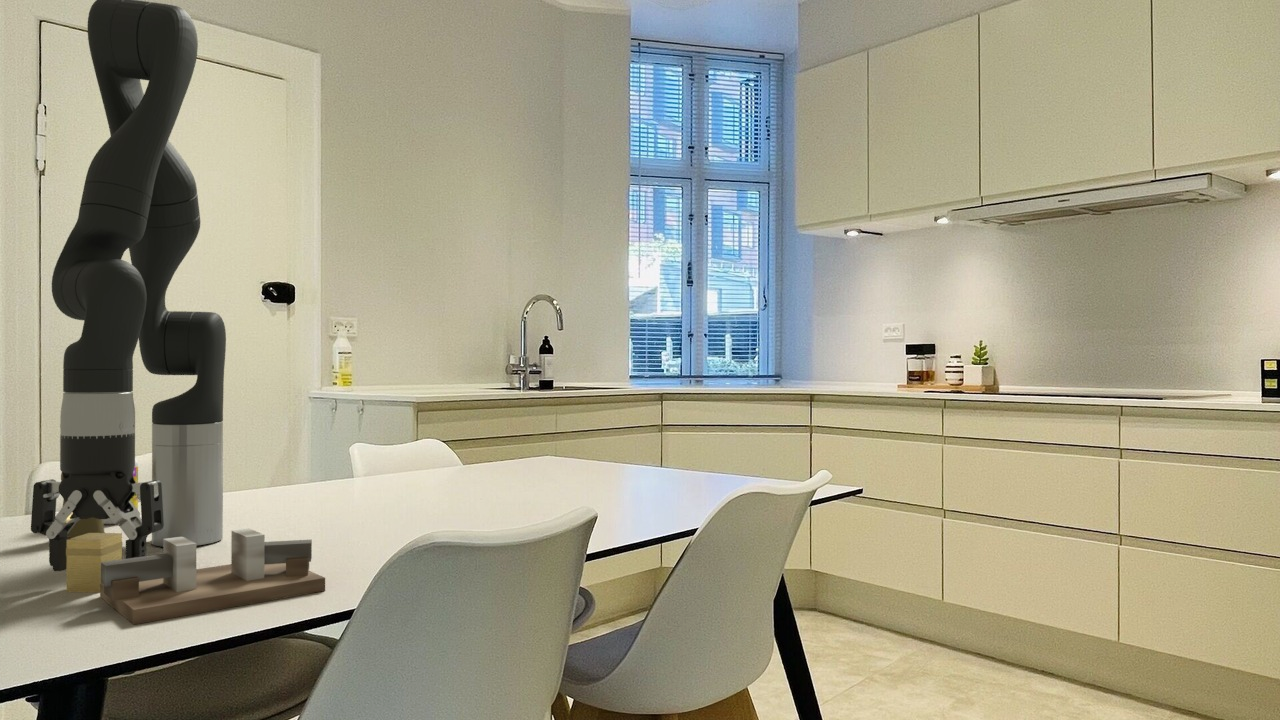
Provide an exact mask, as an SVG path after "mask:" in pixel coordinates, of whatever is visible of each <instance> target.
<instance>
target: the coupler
mask: <svg viewBox="0 0 1280 720" xmlns="http://www.w3.org/2000/svg"><path fill="white" fill-rule="evenodd" d="M122 538H123V534H122V533H119V532H117V533H115V532H105V533H87V534H84V535H80V536H77V537H74V538H71V539H67V548H66V555H67V569H66V592H67V593H100V583H101V562H106V561H113V560H121V559H123V551H122V550H123V539H122Z"/></svg>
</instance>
